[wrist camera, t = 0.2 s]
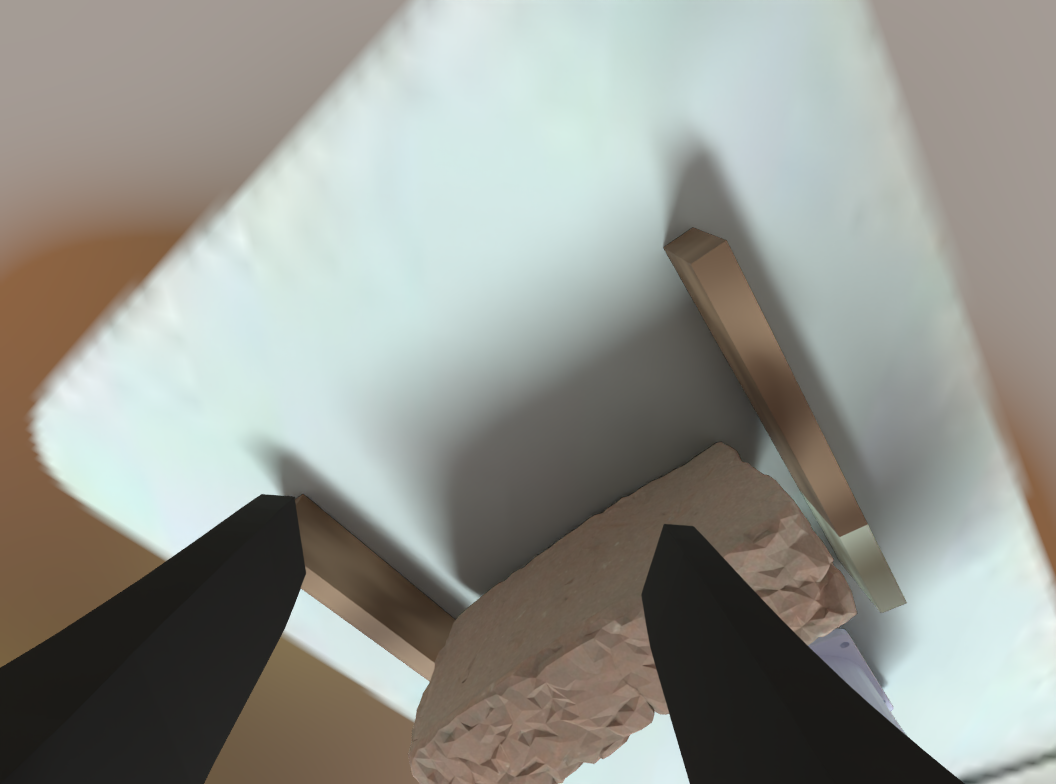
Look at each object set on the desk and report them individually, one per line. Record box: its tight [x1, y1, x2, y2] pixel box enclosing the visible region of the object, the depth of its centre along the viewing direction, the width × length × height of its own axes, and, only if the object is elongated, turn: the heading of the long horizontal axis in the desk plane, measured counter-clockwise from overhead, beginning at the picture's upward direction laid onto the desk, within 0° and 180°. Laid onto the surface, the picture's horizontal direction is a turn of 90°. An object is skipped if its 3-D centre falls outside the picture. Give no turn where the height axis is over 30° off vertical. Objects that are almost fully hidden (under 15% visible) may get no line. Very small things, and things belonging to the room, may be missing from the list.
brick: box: [408, 442, 857, 784], centre depth 19 cm, size 16×8×5 cm
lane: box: [295, 228, 907, 681], centre depth 22 cm, size 20×22×3 cm
